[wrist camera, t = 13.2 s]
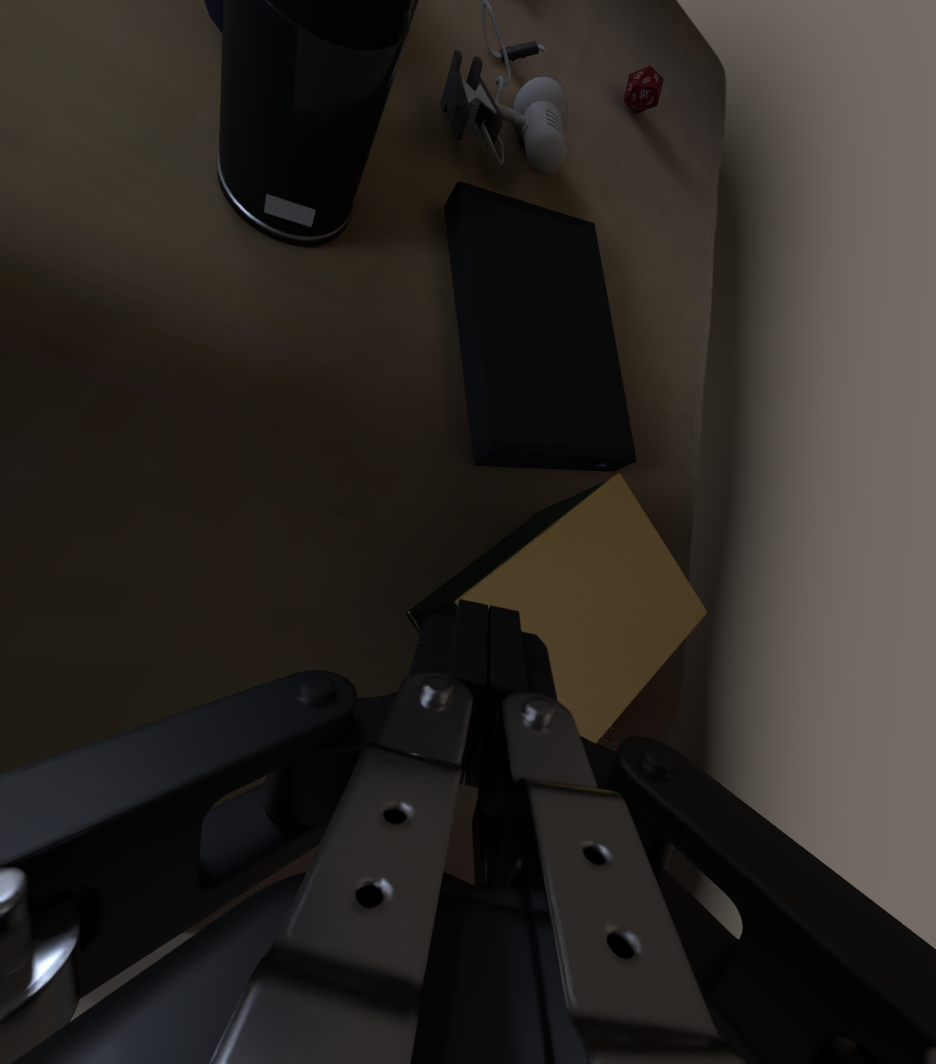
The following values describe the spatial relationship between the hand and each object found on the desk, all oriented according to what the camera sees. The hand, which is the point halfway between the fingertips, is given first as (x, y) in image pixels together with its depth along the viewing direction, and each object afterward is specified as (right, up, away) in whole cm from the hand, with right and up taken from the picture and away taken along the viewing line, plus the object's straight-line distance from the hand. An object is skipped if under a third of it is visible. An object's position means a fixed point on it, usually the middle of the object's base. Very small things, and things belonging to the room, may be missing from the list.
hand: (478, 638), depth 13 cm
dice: (+18, +52, +48) cm, 73 cm away
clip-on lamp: (+2, +43, +38) cm, 57 cm away
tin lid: (+7, -2, +20) cm, 21 cm away
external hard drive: (+5, +19, +33) cm, 39 cm away
